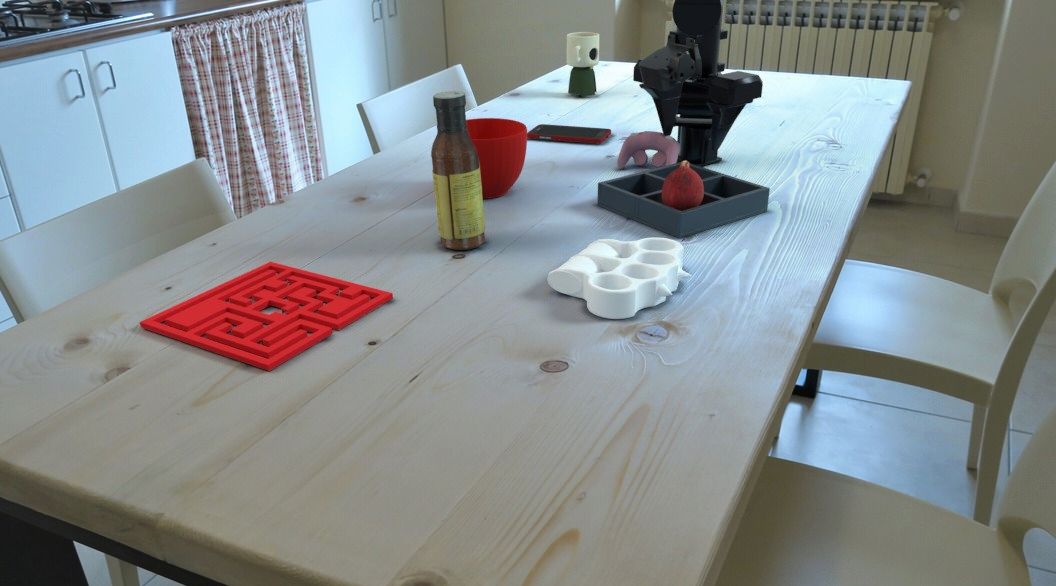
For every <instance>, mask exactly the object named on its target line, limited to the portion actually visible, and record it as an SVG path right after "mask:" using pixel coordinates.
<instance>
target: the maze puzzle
mask: <svg viewBox="0 0 1056 586" xmlns="http://www.w3.org/2000/svg"><path fill="white" fill-rule="evenodd" d="M288 284H289V285H288ZM317 292H319V293H317ZM338 294H339V295H338ZM251 297H252V299H251ZM315 297H316V298H315ZM285 298H287V299H285ZM371 298H372V299H371ZM392 299H394V293H393V292H390V291H386V290H382V289H379V288H374V287H371V286H367V285H362V284H359V283H355V282H351V281H347V280H344V279H340V278H336V277H333V276H332V277H331V276H328V275H324V274H321V273H318V272H317V273H316V272H313V271H309V270H305V269H301V268H297V267H294V266H288V265H286V264H282V263H278V262H275V261H268V262H266V263H264V264H262V265H260V266H257V267H256V268H253V269H252V270H249V271H247V272H245V273H243V274H241V275H238V276H236V277H234V278H232V279H230V280H227V281H226V282H224V283H221V284H219V285H217V286H215V287H212V288H210V289H207V290H205V291H204V292H202V293H199V294H197V295H195V296H193V297H190V298H188V299H187V300H184V301H182V302H180V303H177V304H176V305H174V306H172V307H169V308H167V309H165V310H163V311H160V312H158V313H155V314H154V315H152V316H150V317H148V318H145V319H143V320H141V321H139V325H140V328H141V329H144V330H147V331H151V332H153V333H156V334H159V335H163V336H165V337H168V338H171V339H174V340H176V341H180V342H182V343H185V344H189V345H192V346H194V347H196V348H197V347H198V348H201V349H203V350H207V351H209V352H211V353H215V354H217V355H220V356H223V357H226V358H229V359H233V360H236V361H239V362H241V363H244V364H248V365H250V366H254V367H256V368H259V369H261V370H262V369H263V370H266V371H267V372H270V371H271V370H273V369H275V368H277V367H278V366H280V365H282V364H283V363H286V362H287V361H288V360H290V359H292V358H294V357H296V356H297V355H299V354H301V353H302V352H304V351H305V350H307V349H309V348H311V347H312V346H315V344H318V343H319V342H321V341H323V340H325V339H326V338H328V337H329V336H331V335H333V334H334V333H333V329H334V330H336V331H340V330H341V329H343V328H345V327H346V326H348V325H350V324H352V323H354V322H355V321H357V320H358V319H360V318H362V317H364V316H366V315H367V314H368V313H370V312H372V311H374V310H376V309H377V308H379V307H381V306H382V305H384V304H386V303H388V302H390V301H391V300H392ZM227 300H228V301H229V302H228V301H227ZM253 301H255V302H253ZM324 303H326V304H324ZM300 305H302V307H301V306H300ZM270 306H272V307H275V308H279V309H281V312H278V311H273V312H271V313H270V314H269V313H265V312H262V310H264V309H266V308H268V307H270ZM316 311H317V313H316ZM286 313H287V314H286ZM163 322H165V323H163ZM264 324H265V325H267V326H264ZM233 325H234V327H233ZM229 332H231V334H229ZM308 332H309V333H310V334H308ZM203 335H205V337H204V336H203ZM261 341H262V344H261V343H260V342H261Z"/></svg>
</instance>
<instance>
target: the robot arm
mask: <svg viewBox="0 0 1056 586" xmlns="http://www.w3.org/2000/svg"><path fill="white" fill-rule="evenodd" d="M724 1H725V0H674V2H673V4H672V10H671V13H672V19H673V23H674V25H675V26H676V29H675V30H669V33H668V35H667V38H666V39H667V40H666V45H665V46H663V47H662V48H661V47H660V48H659V49H656V50H655V51H654V52H652V53H651V54H649V55H648V56H646V57H645V58H640V59H638V60H637V62H636V63H635V65H634V66H633V79H632V80H633V82H637V83H639V88H640V89H641V90H644V91H645V92H646V93H647V94H648V95H649V96H650V97H651V98H652V101H653V103H654V106H655V110H656V112H657V117H658V120H659V123H660V127H661V131H662V133H663V134H664V136H669V135H670V136H671V135H672V133H673V129H674V128H675V127H677V139H676V141H677V142H678V143H679V144H680V152H679V154H678V158H677V162H676V163H679V162H683V161H685V160H686V161H688V162H689V163H690V164H694V165H697V166H700V167H704V166H707V165H711V164H715V163H719V162H722V161H723V158H722V157H720V156H718V152H719V149H720V148H721V146H722V144H723V142H724V141H725V139H726V137H727V136H728V134H729V132H730V130H731V128H732V127H733V126H734V124H735V121H736V120H737V119H738V117H739V116H740V114H741V113H742V111H743V110H744V108H745V107H746V105H747V104H753V102H754V100H755V99H760V98H762V95H763V86H764V85H763V83H764V82H763V79H762V78H761V76H760V75H759V74H755V73H752V72H751V73H750V72H747V71H740V70H736V71H732V72H727V73H726V72H725V68H726V66H725V65H726V63H725V62H720V51H721V50H720V49H721V40H726V39H728V34H729V30H727V29H722V25H723V14H724ZM723 72H725V73H723Z"/></svg>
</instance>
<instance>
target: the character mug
mask: <svg viewBox="0 0 1056 586" xmlns="http://www.w3.org/2000/svg"><path fill="white" fill-rule="evenodd" d="M599 63H600V33H598V32H592V31H578V32H577V31H576V32H570V33H567V34H566V65H568V66H570V67H572V68H571V70H570V72H569V73H570V74H569V80H568V89H567V90H568V91H567V93H568V95H569V94H570V95H577V96H578V97H579V98H582V96H583V97H591V96H593V95H596V94H597V81H596V72H595V69H594V67H595V66H597V65H599Z"/></svg>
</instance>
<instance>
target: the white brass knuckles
mask: <svg viewBox="0 0 1056 586" xmlns="http://www.w3.org/2000/svg"><path fill="white" fill-rule="evenodd" d="M683 262H684V246H683V245H682V243H681V242H679V241H677V240H674V239H671V238H666V237H644V238H641V239H640V238H639V239H638V240H629V241H627V240H626V241H624V240H619V239H612V238H599V239H596V240H594V241H593V242H590V243H588V246H587V247H585V248H584V249H582V250H581V251H580V252H578V253H576V254H575V255H572V256H571V257H569V258H568V260H567V261H565V262H564V263H563V264H561V265H560V266H558V267H557V268H556V269H553V270H551V271H549V272H548V275H547V277H546V278H547V279H546V280H547V283H548V285H549V286H550V287H551V289H554V290H555V291H557V292H558V293H561V294H564V295H568V296H570V297H574V298H579V299H583V300H585V301H586V307H587V309H588V311H589V312H590V313H591V314H593V315H595V316H597V317H599V318H604V319H609V320H623V319H629V318H633V317H635V315H636V313H638V312H639V311H640V310H642V309H646V308H653V307H656V306H658V305H660V304H662V303H664V302H665V301H666V300H667V297H669V296H673V292H676V291H677V290H678V286H679V283H680V281H684V280H686V279H688V278H691V277H692V275H691V274H690V273H688V272H687V271H685V270H683V264H684V263H683Z"/></svg>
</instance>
